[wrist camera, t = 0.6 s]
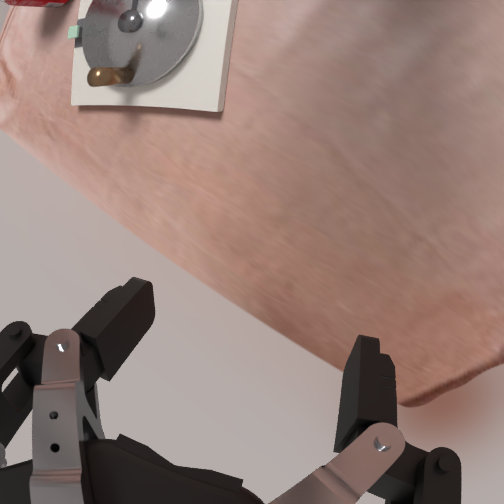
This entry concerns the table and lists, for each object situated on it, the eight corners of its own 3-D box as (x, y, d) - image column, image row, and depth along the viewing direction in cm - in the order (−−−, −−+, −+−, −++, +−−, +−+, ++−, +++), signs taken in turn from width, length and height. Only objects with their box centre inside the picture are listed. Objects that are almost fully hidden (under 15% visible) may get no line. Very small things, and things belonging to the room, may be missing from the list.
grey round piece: (98, -23, 27) (60, -32, 21) (212, -43, 24) (183, -65, 18) (84, 88, 36) (45, 94, 29) (194, 88, 33) (160, 90, 27)
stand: (95, -30, 29) (78, -34, 25) (246, -53, 25) (236, -65, 21) (80, 103, 39) (62, 107, 36) (223, 110, 36) (210, 113, 32)
